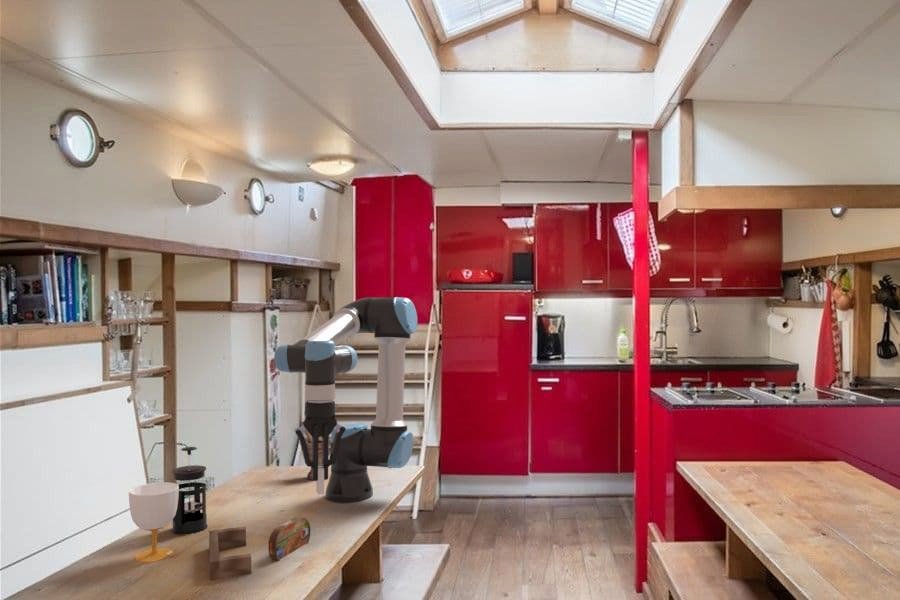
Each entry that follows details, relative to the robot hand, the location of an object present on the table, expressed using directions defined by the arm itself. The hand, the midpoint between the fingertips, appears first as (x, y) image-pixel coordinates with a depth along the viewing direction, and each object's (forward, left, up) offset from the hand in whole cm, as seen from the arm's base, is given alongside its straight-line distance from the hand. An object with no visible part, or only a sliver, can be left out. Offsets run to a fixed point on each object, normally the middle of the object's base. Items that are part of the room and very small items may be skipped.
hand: (320, 492), depth 171 cm
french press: (+32, -30, -15) cm, 46 cm away
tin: (+8, 0, -15) cm, 17 cm away
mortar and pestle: (-9, -72, -15) cm, 74 cm away
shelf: (+22, 0, -15) cm, 27 cm away
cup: (+40, -12, -15) cm, 44 cm away
